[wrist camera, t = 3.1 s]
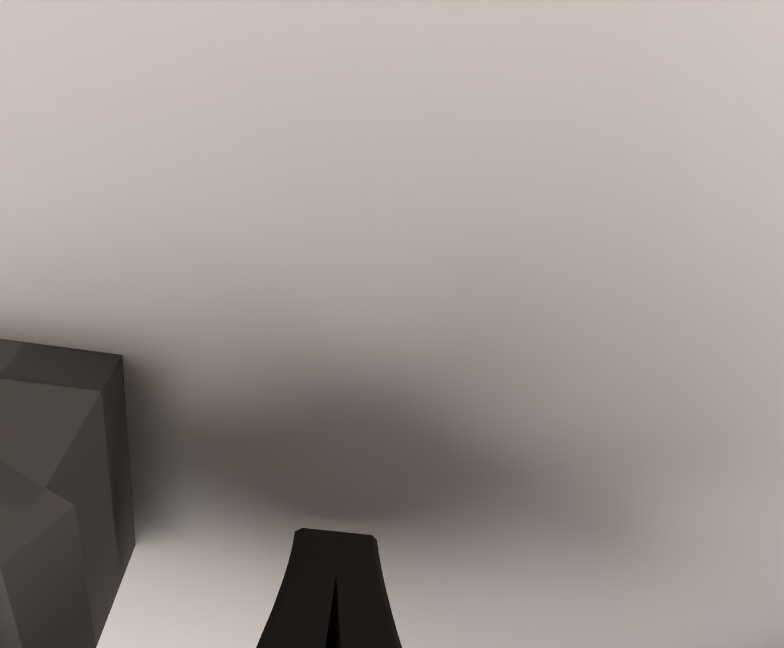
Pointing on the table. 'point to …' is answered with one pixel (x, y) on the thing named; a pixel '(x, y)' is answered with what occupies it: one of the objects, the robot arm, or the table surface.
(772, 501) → the table surface
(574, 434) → the table surface
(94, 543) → the wedge
